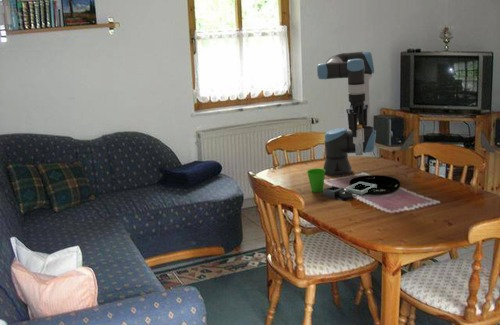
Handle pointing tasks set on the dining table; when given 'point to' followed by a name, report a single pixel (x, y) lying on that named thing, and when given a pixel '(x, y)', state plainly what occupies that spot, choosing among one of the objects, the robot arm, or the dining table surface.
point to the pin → (359, 146)
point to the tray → (350, 188)
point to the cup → (316, 179)
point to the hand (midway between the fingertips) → (358, 142)
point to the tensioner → (338, 193)
